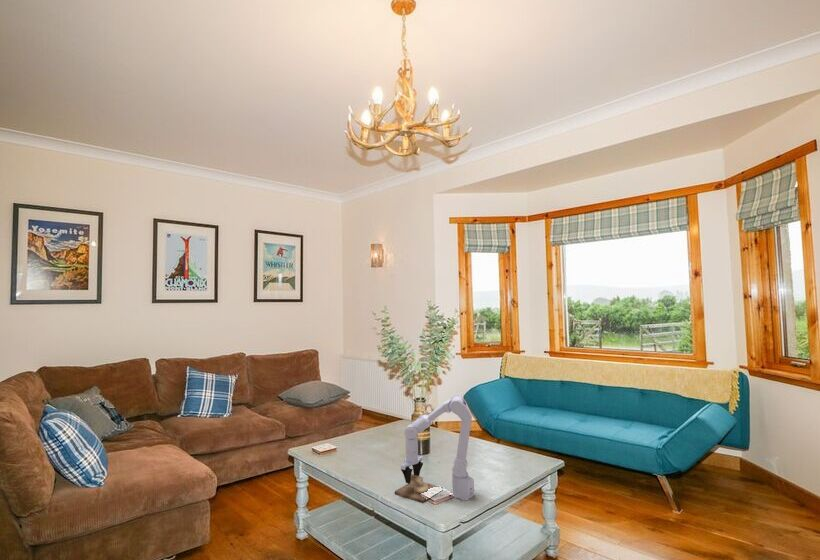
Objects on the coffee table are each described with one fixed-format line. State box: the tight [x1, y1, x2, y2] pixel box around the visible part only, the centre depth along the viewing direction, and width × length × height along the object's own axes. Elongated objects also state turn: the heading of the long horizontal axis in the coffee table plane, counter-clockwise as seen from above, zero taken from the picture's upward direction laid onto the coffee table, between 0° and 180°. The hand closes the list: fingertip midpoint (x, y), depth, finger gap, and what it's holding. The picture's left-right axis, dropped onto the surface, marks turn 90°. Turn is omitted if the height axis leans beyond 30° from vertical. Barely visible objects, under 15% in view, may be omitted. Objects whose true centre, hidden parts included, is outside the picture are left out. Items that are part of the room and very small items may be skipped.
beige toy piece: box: [410, 473, 428, 494], centre depth 207 cm, size 11×6×6 cm, turn 53°
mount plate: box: [394, 481, 444, 504], centre depth 207 cm, size 16×16×1 cm
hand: (412, 480), depth 208 cm, fingers open, 6 cm apart
